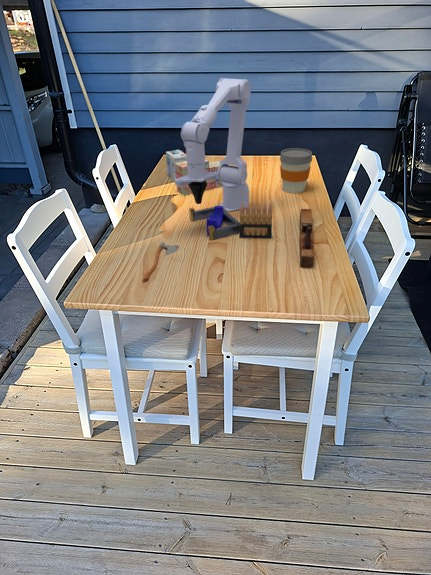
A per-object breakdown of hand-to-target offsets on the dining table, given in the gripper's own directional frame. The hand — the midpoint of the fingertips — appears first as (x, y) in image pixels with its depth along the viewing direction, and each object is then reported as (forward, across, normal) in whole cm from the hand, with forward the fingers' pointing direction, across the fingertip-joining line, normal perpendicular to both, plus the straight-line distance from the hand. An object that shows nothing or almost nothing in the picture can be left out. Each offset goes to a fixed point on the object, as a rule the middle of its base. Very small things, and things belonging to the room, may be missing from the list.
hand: (198, 202), depth 141 cm
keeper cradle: (+10, +6, 0) cm, 11 cm away
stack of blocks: (+10, +17, +35) cm, 40 cm away
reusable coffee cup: (+10, +49, +15) cm, 52 cm away
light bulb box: (+10, +13, +53) cm, 55 cm away
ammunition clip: (+10, +14, -14) cm, 22 cm away
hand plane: (+10, +27, -24) cm, 38 cm away
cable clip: (+10, +5, -1) cm, 11 cm away
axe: (+10, -19, -14) cm, 26 cm away
